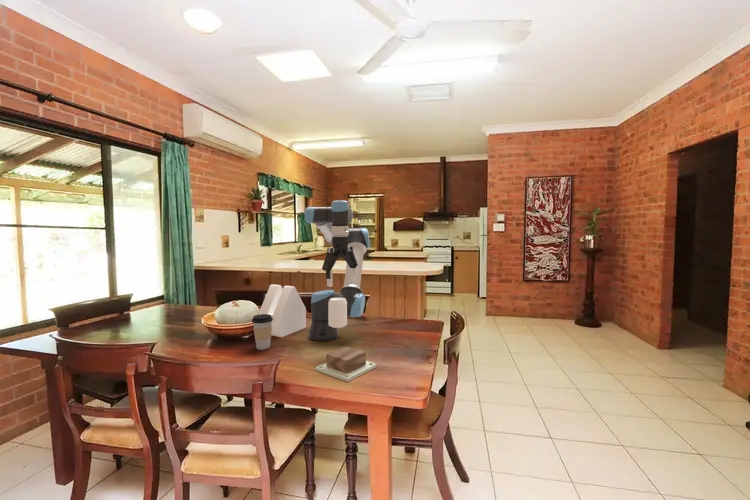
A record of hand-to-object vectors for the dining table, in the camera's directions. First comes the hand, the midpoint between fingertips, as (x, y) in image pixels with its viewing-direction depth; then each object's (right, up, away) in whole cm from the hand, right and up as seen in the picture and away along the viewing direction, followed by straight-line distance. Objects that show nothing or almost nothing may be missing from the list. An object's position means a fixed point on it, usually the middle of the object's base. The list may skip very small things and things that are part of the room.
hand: (340, 284), depth 154 cm
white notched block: (-34, -29, +34) cm, 56 cm away
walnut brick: (+4, -31, -16) cm, 35 cm away
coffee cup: (-37, -31, +8) cm, 49 cm away
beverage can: (-1, -19, 0) cm, 19 cm away
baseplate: (+4, -32, -16) cm, 36 cm away
